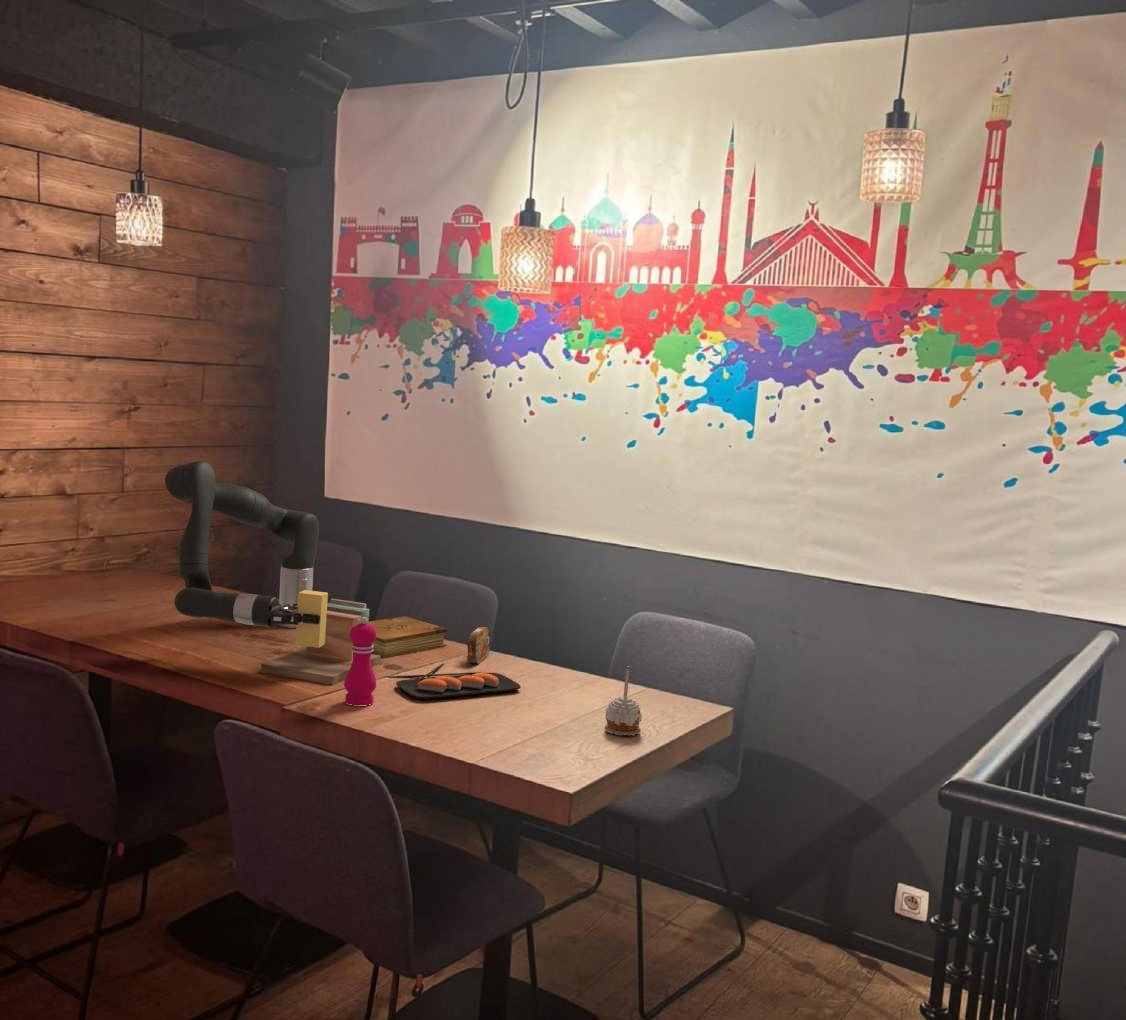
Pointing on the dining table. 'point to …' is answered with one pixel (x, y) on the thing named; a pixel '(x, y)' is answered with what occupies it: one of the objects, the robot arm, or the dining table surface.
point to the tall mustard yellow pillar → (318, 606)
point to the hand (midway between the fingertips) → (322, 617)
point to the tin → (479, 645)
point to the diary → (405, 636)
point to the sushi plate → (455, 684)
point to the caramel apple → (623, 713)
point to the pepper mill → (361, 665)
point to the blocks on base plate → (325, 648)
